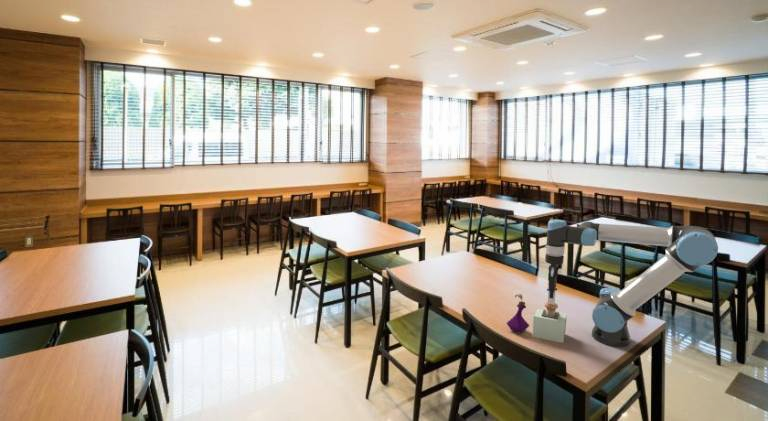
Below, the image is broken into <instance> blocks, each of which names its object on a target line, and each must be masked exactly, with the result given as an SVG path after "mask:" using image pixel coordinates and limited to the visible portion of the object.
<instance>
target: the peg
mask: <svg viewBox="0 0 768 421" xmlns="http://www.w3.org/2000/svg"><path fill="white" fill-rule="evenodd" d="M543 305H544V307H545V310H546V315H549V316H554V317H555V312H557V311H556V309H558V308H559V307H558V304H557V303H554V305H550V304H548V301H547V302H546V301H545V303H544V304H543Z"/></svg>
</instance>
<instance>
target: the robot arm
mask: <svg viewBox="0 0 768 421" xmlns="http://www.w3.org/2000/svg"><path fill="white" fill-rule="evenodd" d="M597 241H602V242H603V241H604V242H615V243H624V244H625V243H626V244H627V243H628V244H636V245H637V244H638V245H647V246H648V245H649V246H657V247H659V246H660V247H666V248H665V250H664V251H665V255H663V256H662V257H661V258H660V259H658V260H657V261H656V262H655V263H653V264H652V265H651V266H649V267H648V268H647V269H646V270H645V271H643V272H642V273H641V274H640V275H638V276H637V277H635V279H634V280H632V281H631V282H630V283H628V284H627V285H626V286H625V287H624V288H622V289H618V288H609V287H604V288H601V289H600V291H599V299H598V302H597V304H596V305H595V307H594V308H593V309H592V314H591V317H592V318H591V319H592V320H593V321H592V322H593V323H594V326H593V328H592V331H591V337H592V338H593V339H594V340H596V341H597V342H599V343H601V344H605V345H607V346H610V347H611V346H612V347H627V346H629V345H630V343H631V335H630V331H629V329H628V328H629V327H628V321H630V320H631V319H632V318H634V317H635V316H636V312H637V311H636V310H637V309H638V308H639V307H641V306H642V305H644V304H645V303H646V302H648V301H649V300H650V299H651V298H653V297H654V296H655V295H657V294H658V293H660V292H661V291H662V290H663V289H665V288H667V287H668V286H669V285H670V284H671V283H673V282H674V281H675V280H677V279H678V278H679V277H680V276H682V275H683V274H684V273H685V272H687V273H693V272H695V271H696V270H697V269H699V268H700V267H701V266H705V265H708V264H710V263H712V261H714V259H715V258H716V257H717V254H718V252H719V245H718V242H717V239H716V237H715V235H714V234H713V232H711V231H710V230H708V229H707V228H705V227H701V226H693V225H692V226H689V225H688V226H687V225H686V226H682V225H680V226H679V225H671V226H670V227H656V226H643V225H627V224H611V223H597V222H592V221H585V222H582V223H580V224H579V225H578V226H571V225H568V224H567V221H566V220H564V219H563V220H562V219H557V218H555V219H550V220H549V221H548V223H547V229H546V245H544V248H545V258H544V259H545V261H544V262H545V263H547V264H549V266H548V288H547V289H546V291H548V295H547V302H548V304H550V305H554V303H555V301H556V291H557V290H558V288H557V279H558V274H559V269H560V266H559V265H563V264H564V257H565V256H564V255H565V247H566V246H565V244H571V245H578V246H579V245H580V246H583V247H594V246H595V245H596V242H597ZM555 304H556V303H555Z"/></svg>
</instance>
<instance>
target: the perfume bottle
mask: <svg viewBox="0 0 768 421" xmlns="http://www.w3.org/2000/svg"><path fill="white" fill-rule="evenodd" d="M514 297H515V298H517V297H518V298H519V299H520V300H521V301H518V304H516V307H517V308H518V309H517V311H516V314H515V315H514V316H513V317H512V318H510V320H507V322H506V325H507V327H509V329H510V330H511V331H512V332H515V333H516V334H520V333H523V332H525V331H526V330H527V329H528V328H529V327H530V325H529V323H528V321H526V320H525V319H524V317H523V316H522V314H523V313H522V312H523V310H524V309H526V308H527V306H526V302H525V301H523V295H522V293H518V294H515V296H514Z"/></svg>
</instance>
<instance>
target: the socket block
mask: <svg viewBox="0 0 768 421" xmlns="http://www.w3.org/2000/svg"><path fill="white" fill-rule="evenodd" d="M567 315H568V314H567V313H565V312H560V311H559V312H558V311H555V317H554V316H549V315H546V309H542V308H536V311H535V312H534V315H533V321H532V322H533V323H532V337H533V338H538V339H542V340H546V341H551V342H554V343H555V342H556V343H560V344H564V341H565V336H566V329H567V328H566V327H567V318H568V317H567Z"/></svg>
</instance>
